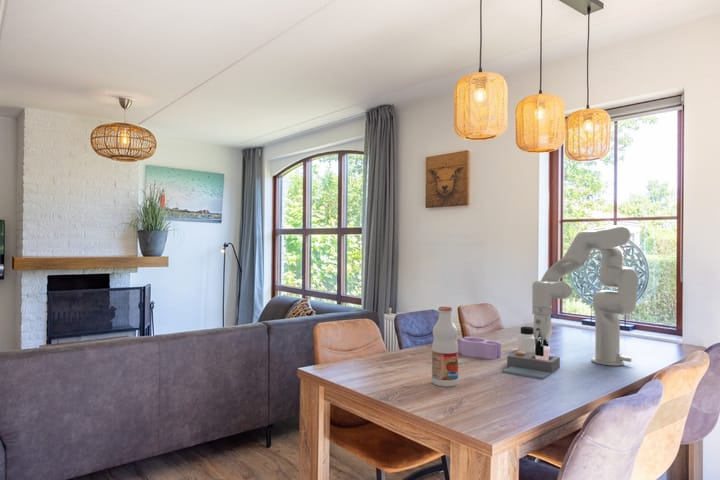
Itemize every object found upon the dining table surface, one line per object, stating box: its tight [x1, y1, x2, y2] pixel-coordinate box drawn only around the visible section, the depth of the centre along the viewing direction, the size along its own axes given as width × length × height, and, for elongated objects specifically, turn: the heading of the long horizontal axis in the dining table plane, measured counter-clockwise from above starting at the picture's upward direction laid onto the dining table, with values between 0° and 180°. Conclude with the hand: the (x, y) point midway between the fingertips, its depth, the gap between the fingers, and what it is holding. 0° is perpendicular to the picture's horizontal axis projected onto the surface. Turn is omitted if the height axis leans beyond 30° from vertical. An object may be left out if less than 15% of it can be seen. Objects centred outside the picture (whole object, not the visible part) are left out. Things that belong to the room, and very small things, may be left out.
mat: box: [502, 366, 552, 380], centre depth 187 cm, size 16×9×1 cm, turn 52°
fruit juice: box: [431, 306, 459, 388], centre depth 173 cm, size 9×9×28 cm
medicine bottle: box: [517, 325, 535, 354], centre depth 228 cm, size 7×7×12 cm
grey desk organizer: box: [506, 351, 561, 375], centre depth 197 cm, size 18×12×4 cm, turn 52°
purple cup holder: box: [456, 336, 502, 360], centre depth 220 cm, size 20×12×7 cm, turn 45°
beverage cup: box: [534, 346, 551, 361], centre depth 195 cm, size 6×6×14 cm
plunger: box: [514, 350, 525, 355], centre depth 201 cm, size 4×4×5 cm
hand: (541, 353), depth 195 cm, fingers closed on beverage cup, 6 cm apart
